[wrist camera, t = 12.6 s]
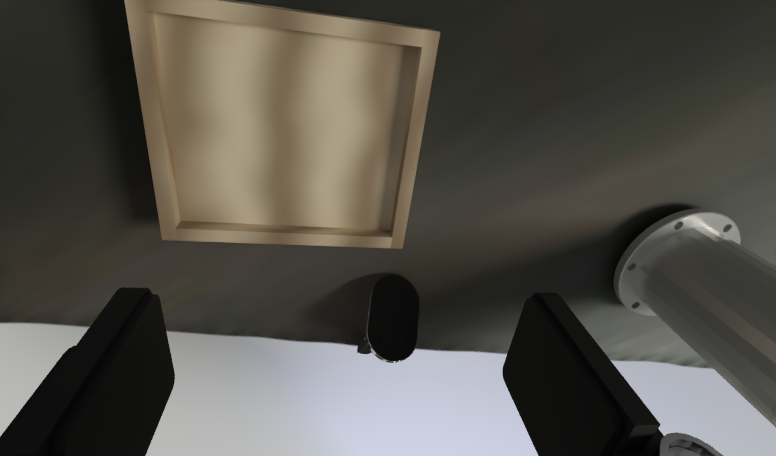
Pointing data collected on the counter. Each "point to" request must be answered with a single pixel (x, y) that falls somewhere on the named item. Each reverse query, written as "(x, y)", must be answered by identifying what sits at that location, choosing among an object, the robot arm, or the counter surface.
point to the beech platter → (280, 121)
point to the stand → (391, 319)
